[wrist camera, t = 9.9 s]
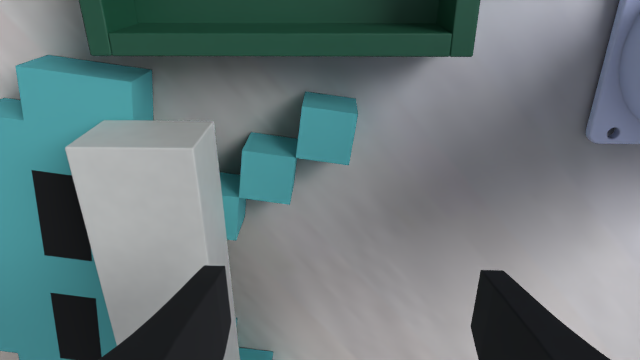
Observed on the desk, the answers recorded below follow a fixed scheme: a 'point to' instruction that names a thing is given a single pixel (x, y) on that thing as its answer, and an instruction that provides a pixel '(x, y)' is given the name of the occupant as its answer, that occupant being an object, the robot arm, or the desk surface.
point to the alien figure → (64, 209)
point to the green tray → (281, 27)
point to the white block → (151, 214)
